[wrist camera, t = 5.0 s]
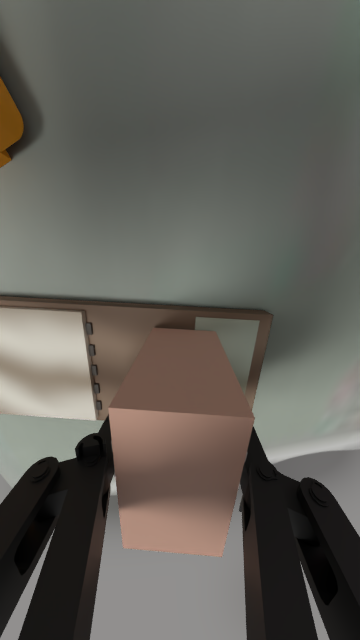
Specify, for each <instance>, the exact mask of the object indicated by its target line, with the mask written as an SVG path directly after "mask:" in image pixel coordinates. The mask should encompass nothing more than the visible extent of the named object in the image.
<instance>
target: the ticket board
mask: <svg viewBox="0 0 360 640" xmlns="http://www.w3.org/2000/svg"><path fill="white" fill-rule="evenodd" d="M272 319H273V315H272V314H270V313H268V312H267V311H265V310H247V309H228V308H210V307H192V306H173V305H155V304H137V303H118V302H100V301H82V300H63V299H45V298H26V297H8V296H0V414H13V415H26V416H40V417H54V418H68V419H82V420H105V419H106V417H107V416H108V414H109V411H108V407H109V405H110V404H111V402H112V400H113V398H114V397H115V395H116V393H117V391H118V389H119V388H120V386H121V384H122V382H123V381H124V379H125V377H126V375H127V373H128V372H129V370H130V368H131V366H132V365H133V363H134V361H135V359H136V357H137V356H138V354H139V352H140V350H141V349H142V347H143V345H144V343H145V341H146V340H147V338H148V336H149V334H150V333H151V331H152V329H153V328H168V329H185V330H202V331H216V333H217V335H218V338H219V340H220V342H221V344H222V346H223V349H224V351H225V353H226V355H227V358H228V360H229V362H230V364H231V366H232V369H233V371H234V373H235V375H236V377H237V380H238V382H239V384H240V386H241V389H242V391H243V393H244V395H245V397H246V400H247V402H248V404H249V406H250V409H251V411H252V408H253V403H254V399H255V394H256V390H257V385H258V381H259V376H260V372H261V368H262V363H263V359H264V354H265V350H266V345H267V341H268V337H269V332H270V328H271V323H272Z"/></svg>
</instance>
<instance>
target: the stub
mask: <svg viewBox="0 0 360 640" xmlns="http://www.w3.org/2000/svg"><path fill="white" fill-rule="evenodd" d="M108 411H109V420H110V429H111V439H112V448H113V458H114V467H115V476H116V486H117V495H118V505H119V514H120V522H121V533H122V541H123V548H128V549H139V550H150V551H161V552H172V553H184V554H194V555H205V556H216V557H222V555H223V550H224V546H225V542H226V538H227V534H228V529H229V525H230V521H231V517H232V512H233V508H234V504H235V500H236V495H237V491H238V487H239V483H240V479H241V474H242V470H243V466H244V462H245V457H246V453H247V449H248V445H249V440H250V436H251V432H252V428H253V424H254V419H255V417H254V415H253V413H252V411H251V409H250V406H249V404H248V402H247V400H246V397H245V395H244V393H243V391H242V389H241V386H240V384H239V382H238V380H237V377H236V375H235V373H234V371H233V369H232V366H231V364H230V362H229V360H228V358H227V355H226V353H225V351H224V349H223V346H222V344H221V342H220V340H219V338H218V335H217V333H216V331H202V330H185V329H168V328H153V329H152V331H151V333H150V334H149V336H148V338H147V340H146V341H145V343H144V345H143V347H142V349H141V350H140V352H139V354H138V356H137V357H136V359H135V361H134V363H133V365H132V366H131V368H130V370H129V372H128V373H127V375H126V377H125V379H124V381H123V382H122V384H121V386H120V388H119V389H118V391H117V393H116V395H115V397H114V398H113V400H112V402H111V404H110V405H109V407H108Z"/></svg>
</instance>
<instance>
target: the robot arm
mask: <svg viewBox="0 0 360 640" xmlns="http://www.w3.org/2000/svg"><path fill="white" fill-rule="evenodd" d="M75 451H76V458H74V459H70V460H66V461H62V462H58V460H57V459H56V458H54V457H46V458H43V459H41V460H39V461H37V462H36V463H35V464H33V465H32V466H31V467H30V468H29V469H28V470H27V471H26V472H25V474H24V475H23V476H22V477H21V479H20V480H19V481H18V483H17V484H16V485H15V486H14V488H13V489H12V490H11V491H10V493H9V494H8V495H7V497H6V498H5V499H4V500H3V502H2V503H1V504H0V637H1V635H2V633H3V631H4V629H5V627H6V625H7V623H8V621H9V619H10V617H11V615H12V613H13V611H14V609H15V607H16V605H17V603H18V601H19V599H20V597H21V594H22V593H23V591H24V589H25V587H26V585H27V583H28V581H29V579H30V577H31V575H32V573H33V571H34V569H35V567H36V565H37V563H38V561H39V559H40V557H41V555H42V553H43V551H44V549H45V547H46V545H47V542H48V541H49V539H50V536H51V535H52V533H53V530H54V529H55V530H54V533H53V536H52V539H51V542H50V545H49V548H48V551H47V554H46V558H45V560H44V563H43V566H42V569H41V572H40V575H39V578H38V581H37V584H36V588H35V590H34V593H33V596H32V599H31V603H30V606H29V609H28V612H27V615H26V618H25V621H24V624H23V627H22V630H21V633H20V636H19V639H18V640H90V633H91V626H92V618H93V612H94V605H95V598H96V591H97V583H98V576H99V568H100V562H101V555H102V547H103V539H104V533H105V525H106V519H107V511H108V505H109V497H110V483H111V480H112V477H113V475H114V478H115V480H116V476H115V467H114V458H113V448H112V439H111V429H110V420H109V414H108V416H107V417H106V419H105V422H104V423H103V425H102V427H101V428H100V430H99V432H98V433H93V434H90V435H88V436H86V437H84V438H83V439H82V440H81V441H80V442H79V443H78V444H77V446H76V448H75ZM239 485H241V489H242V493H243V496H242V499H241V503H240V508H239V511H240V512H242V526H243V550H244V551H243V552H244V578H245V604H246V629H247V640H318V637H317V633H316V629H315V624H314V620H313V616H312V611H311V607H310V603H309V598H308V594H307V590H306V585H305V581H304V577H303V573H302V569H301V565H302V567H303V570H304V573H305V575H306V578H307V581H308V583H309V586H310V588H311V591H312V594H313V597H314V599H315V602H316V605H317V607H318V610H319V612H320V615H321V618H322V620H323V623H324V626H325V628H326V631H327V634H328V636H329V639H330V640H360V537H359V535H358V534H357V532H356V531H355V529H354V527H353V526H352V525H351V523H350V521H349V520H348V518H347V516H346V515H345V513H344V512H343V510H342V509H341V507H340V505H339V504H338V502H337V501H336V499H335V497H334V496H333V495H332V494H331V492H330V491H329V490H328V489H327V488H326V487H325V486H324V485H323V484H322V483H320V482H318V481H317V480H315V479H312V478H309V477H308V478H303V479H302V480H301V482H298V481H296V480H294V479H291V478H289V477H287V476H284V475H283V474H281V473H280V472H278V471H277V470H276V468H275V467H274V466H273V465H272V464H271V463H270V462H269V461H268V459H267V457H266V455H265V452H264V450H263V448H262V445H261V443H260V441H259V438H258V436H257V434H256V431H255V429H254V427H253V428H252V432H251V436H250V440H249V445H248V449H247V453H246V457H245V462H244V466H243V470H242V474H241V479H240V483H239ZM238 490H239V487H238ZM300 562H301V564H300Z"/></svg>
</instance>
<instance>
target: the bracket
mask: <svg viewBox="0 0 360 640" xmlns="http://www.w3.org/2000/svg"><path fill="white" fill-rule="evenodd" d="M22 134H23V120H22V117H21V114H20V112H19V110H18V109H17V107H16V105H15V103H14V101H13V99H12V97H11V96H10V94H9V92H8V90H7V88H6V86H5V85H4V83H3V81H2V79H1V77H0V168H1V167H2V166H4V165H5V164H6V163H8V162H9V161H11V158H10V156H9V154H8V153H7V151H6V148H8V147H9V146H11V145H12V144H14V143H15V142H16V141H18V140H19V139H20V138H21V136H22Z"/></svg>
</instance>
